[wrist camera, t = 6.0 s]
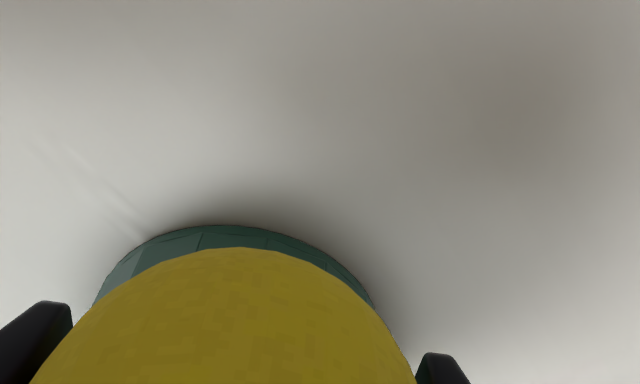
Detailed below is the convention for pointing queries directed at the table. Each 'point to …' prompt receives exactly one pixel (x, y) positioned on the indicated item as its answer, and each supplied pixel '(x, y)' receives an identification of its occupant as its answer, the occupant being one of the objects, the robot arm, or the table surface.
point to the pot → (221, 238)
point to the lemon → (229, 327)
